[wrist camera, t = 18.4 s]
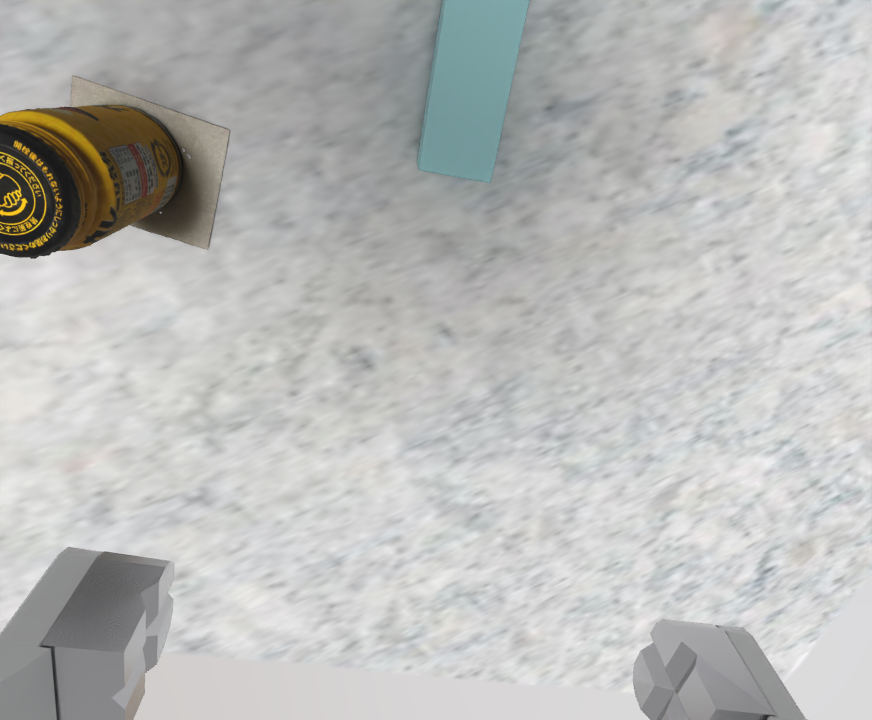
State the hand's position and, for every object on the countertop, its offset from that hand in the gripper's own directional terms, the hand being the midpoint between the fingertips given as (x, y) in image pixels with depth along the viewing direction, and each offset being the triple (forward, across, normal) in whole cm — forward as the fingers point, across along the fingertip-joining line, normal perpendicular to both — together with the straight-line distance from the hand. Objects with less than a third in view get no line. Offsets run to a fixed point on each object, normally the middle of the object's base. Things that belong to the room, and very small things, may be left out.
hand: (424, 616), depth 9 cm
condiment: (+29, -16, 0) cm, 33 cm away
